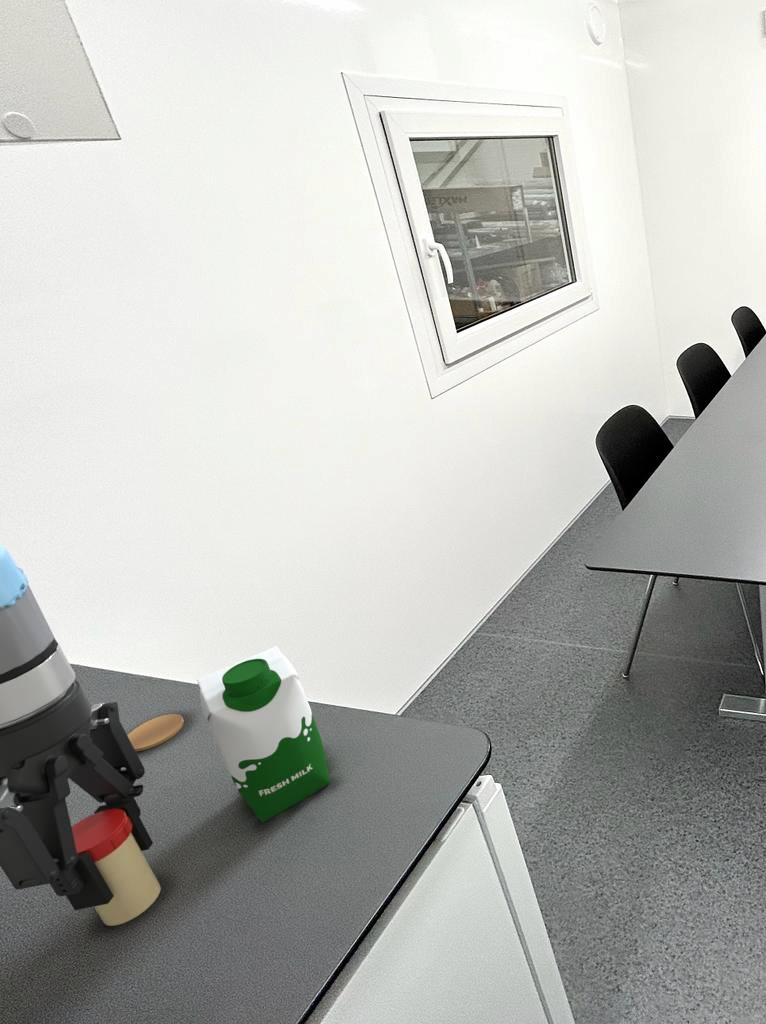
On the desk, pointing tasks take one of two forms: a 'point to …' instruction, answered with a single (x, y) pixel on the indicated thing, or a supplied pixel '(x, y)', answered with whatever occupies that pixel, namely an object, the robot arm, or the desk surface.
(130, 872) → the jar
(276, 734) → the milk carton
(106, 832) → the jar lid
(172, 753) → the desk surface
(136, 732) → the coaster
